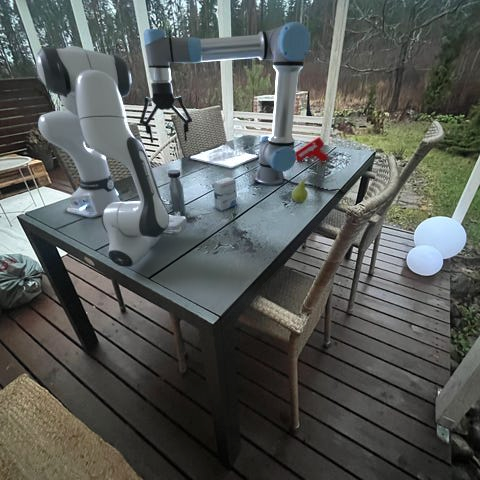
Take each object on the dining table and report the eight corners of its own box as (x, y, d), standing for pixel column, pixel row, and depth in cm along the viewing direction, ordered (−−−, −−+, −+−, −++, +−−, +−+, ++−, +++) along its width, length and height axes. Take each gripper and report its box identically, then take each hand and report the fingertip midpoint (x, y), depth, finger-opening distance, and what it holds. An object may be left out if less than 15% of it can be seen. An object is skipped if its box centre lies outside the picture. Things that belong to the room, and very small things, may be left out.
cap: (177, 178, 100) (177, 173, 99) (166, 177, 101) (165, 173, 100) (182, 174, 104) (181, 170, 103) (171, 173, 105) (170, 169, 104)
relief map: (232, 168, 162) (231, 159, 159) (190, 158, 179) (189, 150, 177) (257, 157, 180) (257, 149, 177) (217, 149, 198) (217, 142, 195)
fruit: (288, 200, 123) (290, 174, 116) (302, 197, 125) (305, 172, 119) (296, 206, 118) (299, 179, 111) (310, 203, 120) (314, 177, 114)
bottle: (183, 218, 109) (177, 175, 99) (172, 217, 110) (165, 174, 100) (188, 213, 113) (182, 170, 103) (176, 212, 114) (170, 170, 104)
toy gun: (332, 156, 168) (319, 135, 164) (331, 158, 165) (319, 137, 161) (306, 172, 178) (294, 152, 174) (305, 174, 175) (293, 154, 171)
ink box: (228, 201, 122) (228, 176, 116) (236, 204, 119) (236, 179, 113) (214, 207, 117) (212, 181, 111) (222, 211, 114) (220, 184, 108)
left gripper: (176, 226, 84) (192, 206, 96) (117, 219, 88) (139, 201, 100) (179, 242, 88) (194, 222, 99) (122, 236, 92) (143, 217, 103)
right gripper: (194, 81, 106) (198, 137, 117) (127, 81, 101) (138, 140, 113) (195, 82, 100) (200, 141, 111) (124, 82, 95) (136, 145, 107)
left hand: (166, 212), depth 99 cm, fingers open, 8 cm apart
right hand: (169, 141), depth 112 cm, fingers open, 13 cm apart
